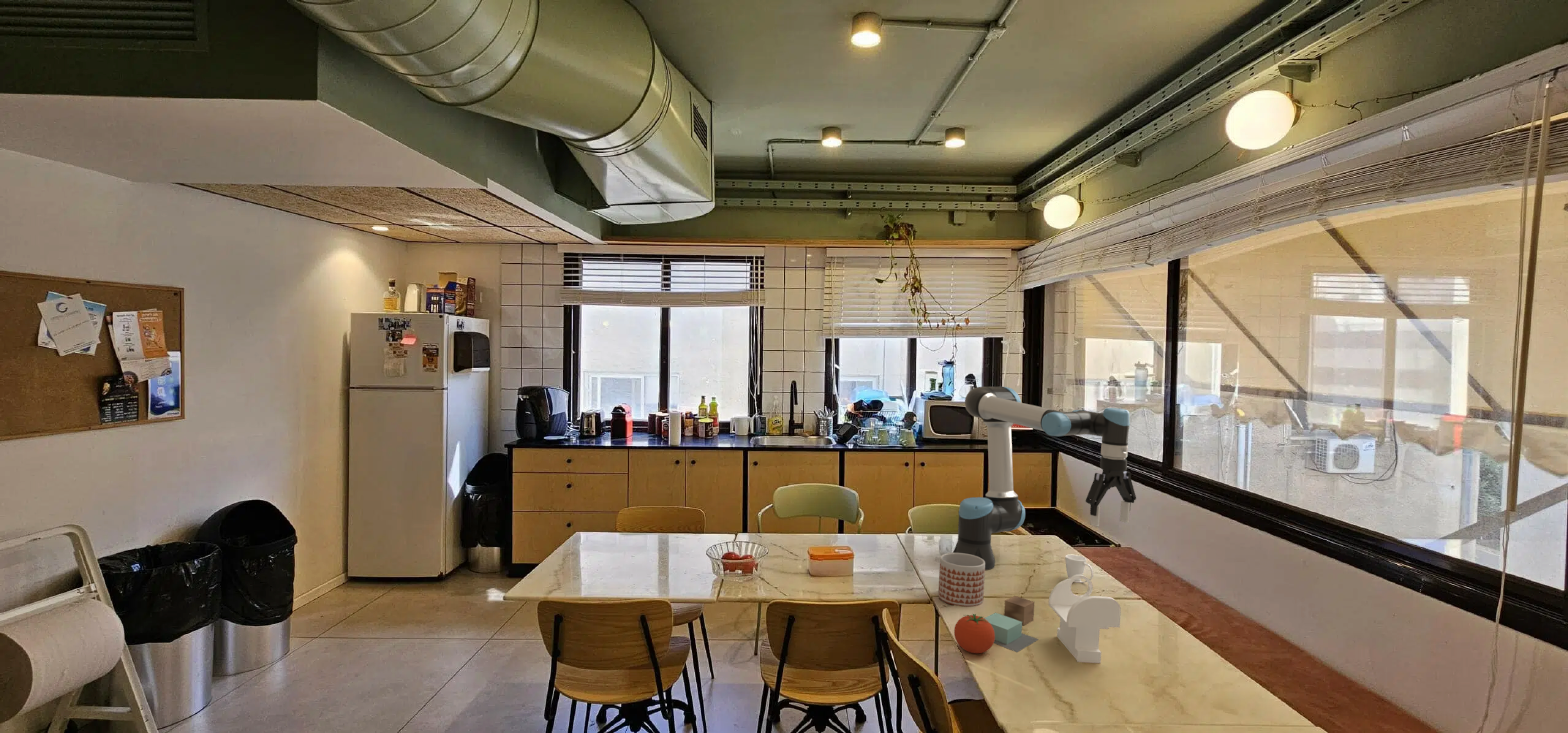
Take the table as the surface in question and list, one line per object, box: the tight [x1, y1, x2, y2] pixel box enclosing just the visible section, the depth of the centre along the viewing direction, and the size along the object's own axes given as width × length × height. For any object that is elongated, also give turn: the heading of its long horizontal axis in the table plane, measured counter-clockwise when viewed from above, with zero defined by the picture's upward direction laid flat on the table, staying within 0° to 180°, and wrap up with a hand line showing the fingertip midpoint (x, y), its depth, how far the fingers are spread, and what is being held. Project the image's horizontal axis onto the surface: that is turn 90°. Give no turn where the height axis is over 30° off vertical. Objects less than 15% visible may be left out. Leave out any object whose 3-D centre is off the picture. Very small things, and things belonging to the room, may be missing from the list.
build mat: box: [993, 633, 1039, 653], centre depth 185 cm, size 16×12×1 cm
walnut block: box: [1003, 595, 1035, 627], centre depth 196 cm, size 6×6×6 cm
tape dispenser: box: [1048, 574, 1122, 664], centre depth 179 cm, size 14×13×18 cm
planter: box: [937, 552, 986, 608], centre depth 211 cm, size 14×14×13 cm
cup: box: [1064, 553, 1094, 584], centre depth 231 cm, size 7×10×8 cm
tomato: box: [953, 613, 995, 654], centre depth 175 cm, size 10×10×10 cm
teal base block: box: [983, 612, 1023, 644], centre depth 185 cm, size 8×8×4 cm
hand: (1109, 524), depth 213 cm, fingers open, 13 cm apart
